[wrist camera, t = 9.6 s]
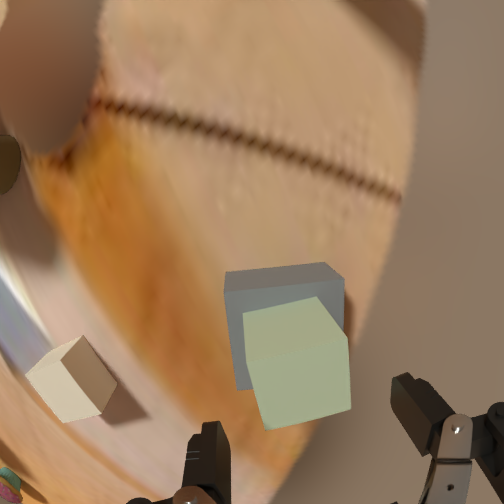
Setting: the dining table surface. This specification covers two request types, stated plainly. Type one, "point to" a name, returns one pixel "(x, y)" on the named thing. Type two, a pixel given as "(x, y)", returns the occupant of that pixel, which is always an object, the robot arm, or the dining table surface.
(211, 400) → the dining table surface
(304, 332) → the sage block
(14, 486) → the cupcake
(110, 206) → the dining table surface
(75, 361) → the cream block
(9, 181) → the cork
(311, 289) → the slate block
